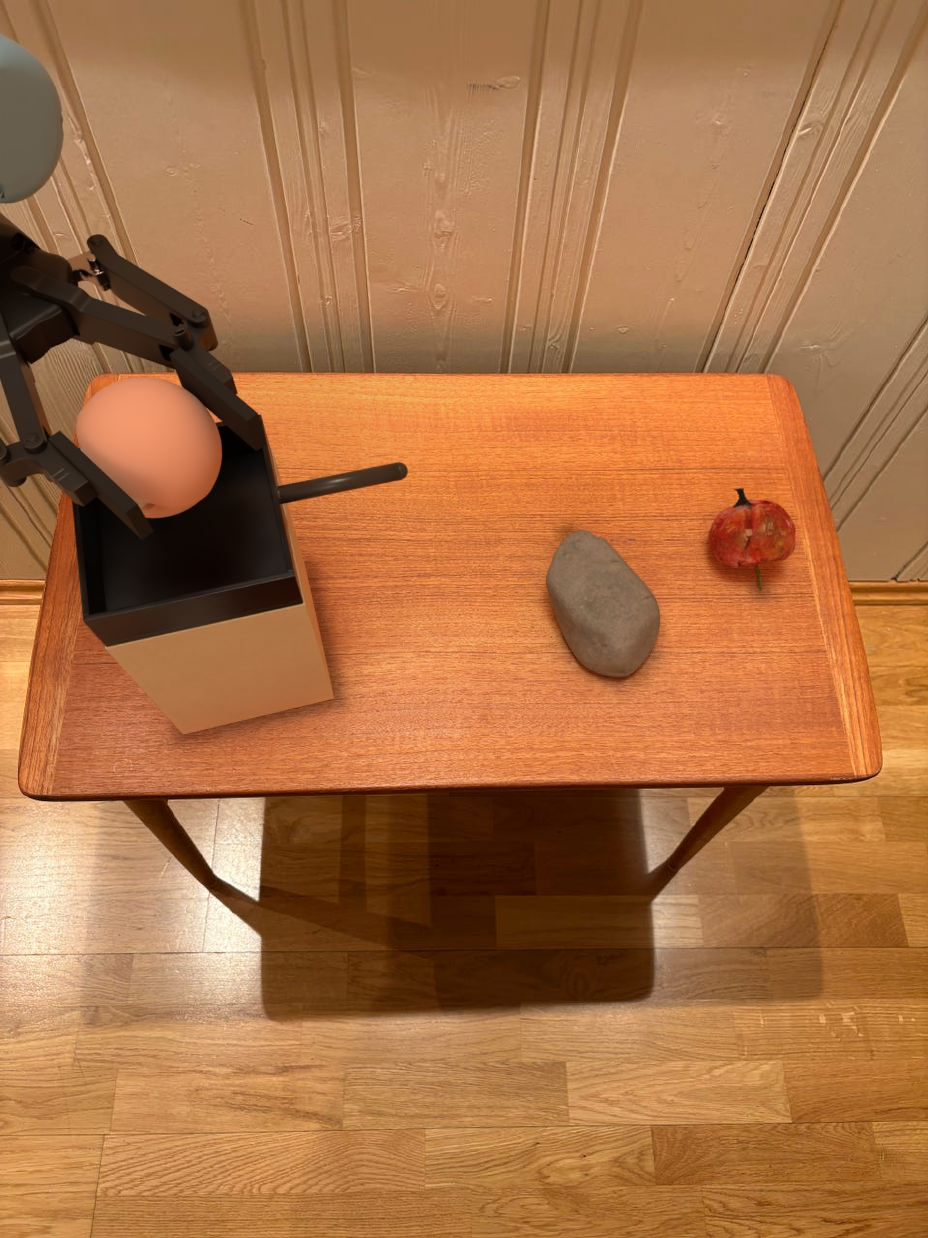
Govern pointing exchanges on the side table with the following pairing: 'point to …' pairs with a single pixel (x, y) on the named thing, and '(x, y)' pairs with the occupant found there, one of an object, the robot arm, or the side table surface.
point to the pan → (202, 550)
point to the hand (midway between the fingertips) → (200, 475)
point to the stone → (602, 605)
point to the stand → (234, 662)
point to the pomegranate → (752, 533)
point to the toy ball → (152, 443)
